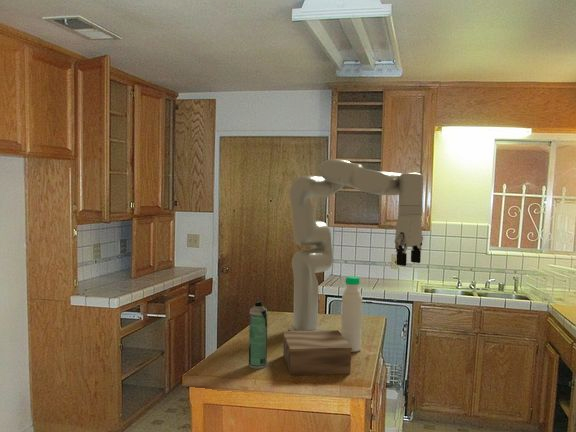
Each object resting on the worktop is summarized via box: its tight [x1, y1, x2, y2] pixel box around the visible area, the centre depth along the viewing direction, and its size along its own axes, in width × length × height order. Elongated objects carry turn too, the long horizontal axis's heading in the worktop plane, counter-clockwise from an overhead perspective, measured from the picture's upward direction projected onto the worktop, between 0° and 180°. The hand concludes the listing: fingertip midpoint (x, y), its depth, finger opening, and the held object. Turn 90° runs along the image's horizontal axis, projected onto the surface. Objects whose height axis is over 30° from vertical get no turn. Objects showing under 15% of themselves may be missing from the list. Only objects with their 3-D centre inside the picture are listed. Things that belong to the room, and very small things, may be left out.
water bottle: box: [340, 275, 363, 353], centre depth 173 cm, size 7×7×25 cm
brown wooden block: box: [282, 329, 352, 376], centre depth 158 cm, size 19×19×8 cm
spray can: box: [248, 300, 268, 370], centre depth 155 cm, size 6×6×20 cm
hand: (408, 263), depth 164 cm, fingers open, 9 cm apart
